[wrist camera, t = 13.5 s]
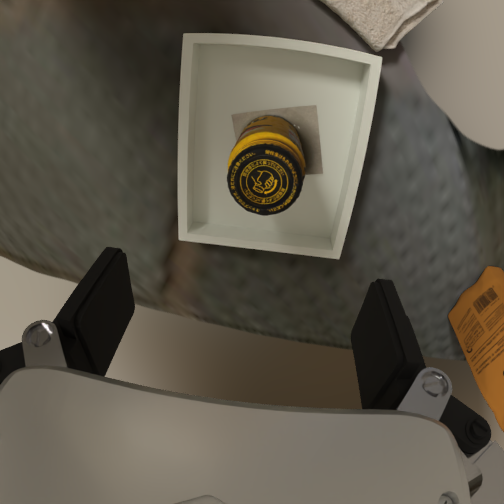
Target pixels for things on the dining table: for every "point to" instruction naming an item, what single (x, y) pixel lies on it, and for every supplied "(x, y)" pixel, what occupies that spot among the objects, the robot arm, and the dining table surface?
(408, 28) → the washcloth
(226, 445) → the robot arm
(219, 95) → the tray
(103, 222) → the dining table surface
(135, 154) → the dining table surface
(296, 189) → the condiment
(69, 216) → the dining table surface
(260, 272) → the dining table surface
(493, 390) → the coffee package
